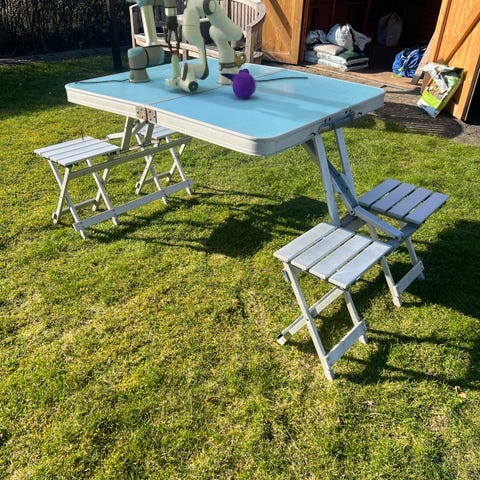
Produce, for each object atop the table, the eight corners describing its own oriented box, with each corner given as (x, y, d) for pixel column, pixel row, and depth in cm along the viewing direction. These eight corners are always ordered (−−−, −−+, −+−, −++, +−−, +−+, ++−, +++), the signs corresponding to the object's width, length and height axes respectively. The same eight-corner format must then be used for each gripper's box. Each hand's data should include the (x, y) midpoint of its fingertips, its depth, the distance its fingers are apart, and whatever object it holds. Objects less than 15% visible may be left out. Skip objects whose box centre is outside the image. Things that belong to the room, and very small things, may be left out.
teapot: (227, 72, 362) (226, 52, 355) (220, 70, 371) (219, 51, 363) (249, 69, 371) (249, 50, 364) (242, 67, 380) (242, 48, 372)
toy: (241, 90, 304) (255, 103, 283) (217, 85, 296) (230, 99, 276) (247, 66, 296) (262, 78, 275) (223, 61, 288) (236, 73, 268)
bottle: (181, 89, 312) (178, 51, 300) (174, 89, 312) (170, 51, 299) (181, 87, 316) (178, 50, 304) (174, 88, 316) (170, 50, 303)
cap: (171, 53, 304) (170, 49, 303) (177, 53, 305) (177, 49, 304) (171, 54, 300) (171, 50, 299) (178, 54, 301) (177, 50, 300)
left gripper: (181, 14, 297) (184, 52, 309) (156, 15, 290) (160, 54, 302) (185, 15, 292) (188, 53, 303) (160, 16, 284) (164, 55, 296)
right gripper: (197, 75, 304) (189, 72, 314) (169, 79, 295) (162, 76, 306) (198, 85, 307) (190, 82, 317) (170, 89, 298) (163, 85, 309)
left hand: (174, 54), depth 303 cm, fingers closed on cap, 4 cm apart
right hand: (176, 79), depth 311 cm, fingers closed on bottle, 5 cm apart
